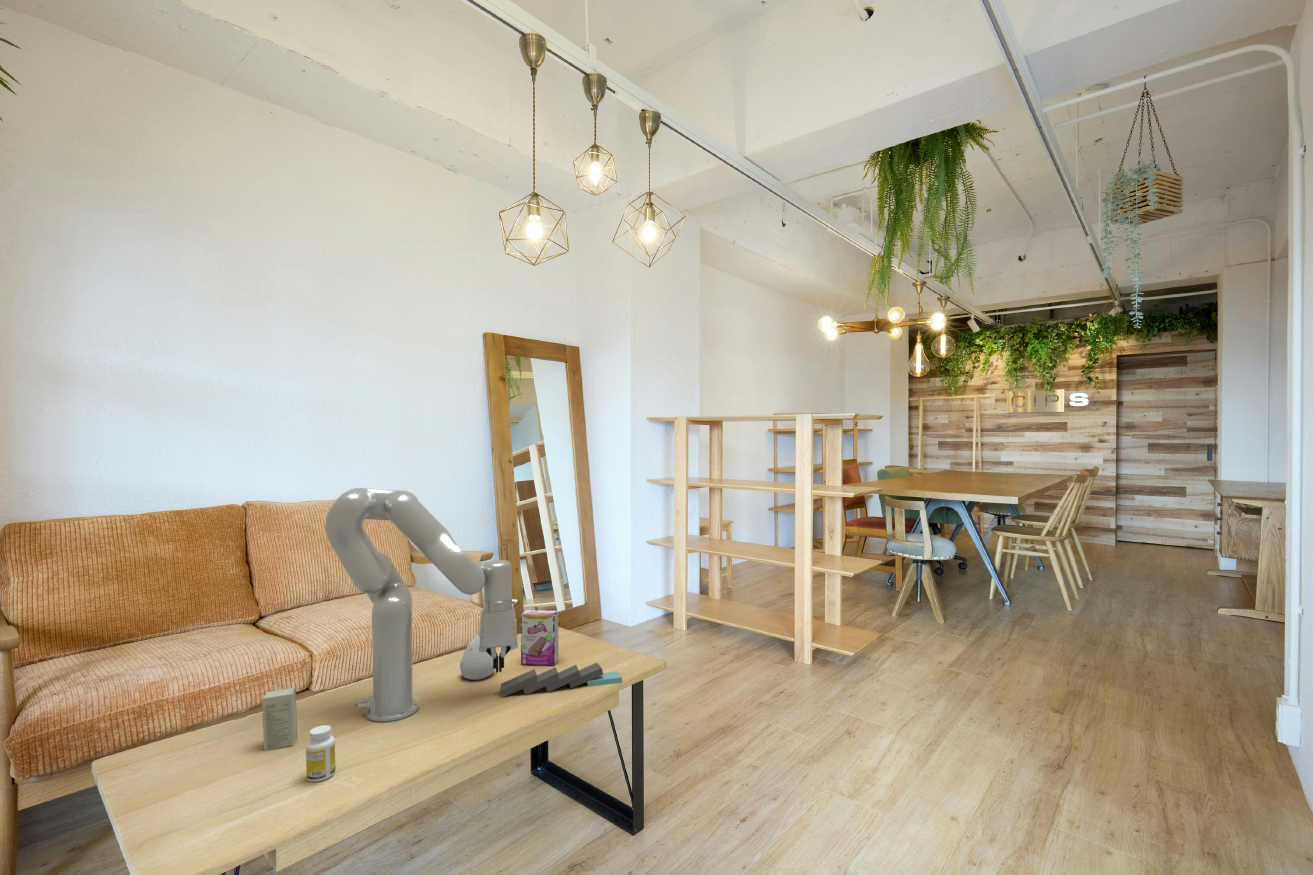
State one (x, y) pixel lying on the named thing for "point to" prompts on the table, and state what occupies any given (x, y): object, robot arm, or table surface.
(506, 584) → the robot arm
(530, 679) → the domino
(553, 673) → the domino
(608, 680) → the domino
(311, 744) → the supplement bottle
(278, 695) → the skincare box
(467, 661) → the grey teardrop lump
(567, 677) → the domino
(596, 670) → the domino
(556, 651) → the candy bar box
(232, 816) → the table surface
